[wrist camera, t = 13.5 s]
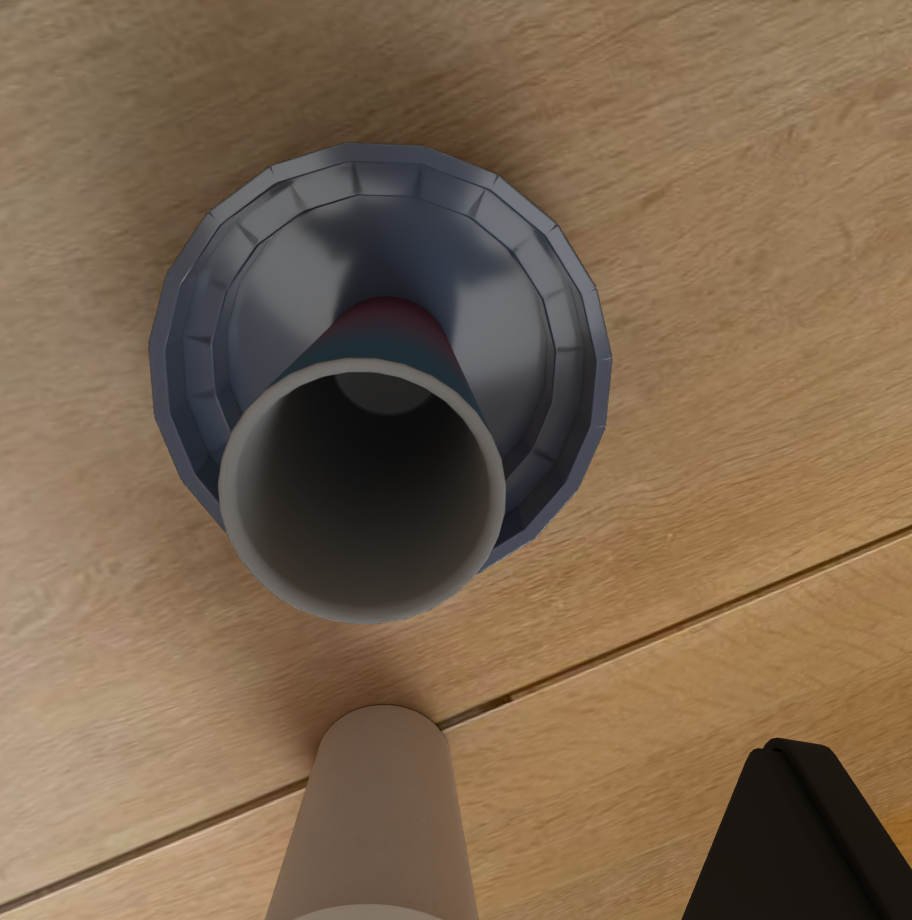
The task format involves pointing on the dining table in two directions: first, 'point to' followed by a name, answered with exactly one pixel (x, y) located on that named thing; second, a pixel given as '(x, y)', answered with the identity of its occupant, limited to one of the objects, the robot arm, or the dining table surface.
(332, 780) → the coffee cup
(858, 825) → the robot arm
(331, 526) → the cup
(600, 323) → the bowl
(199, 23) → the dining table surface
